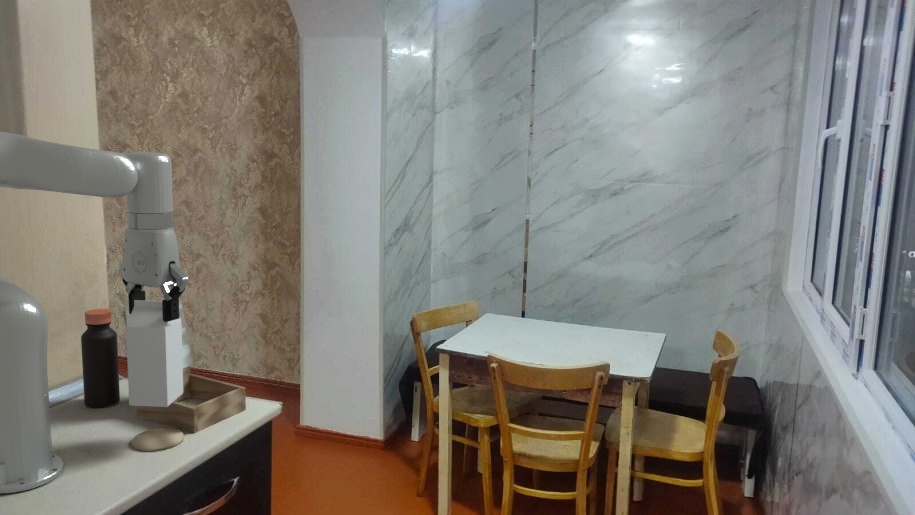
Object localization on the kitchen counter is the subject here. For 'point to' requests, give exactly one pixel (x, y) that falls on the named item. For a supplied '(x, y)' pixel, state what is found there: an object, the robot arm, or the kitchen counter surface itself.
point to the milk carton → (153, 356)
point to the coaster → (157, 439)
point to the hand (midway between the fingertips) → (154, 316)
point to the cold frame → (196, 396)
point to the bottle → (100, 360)
